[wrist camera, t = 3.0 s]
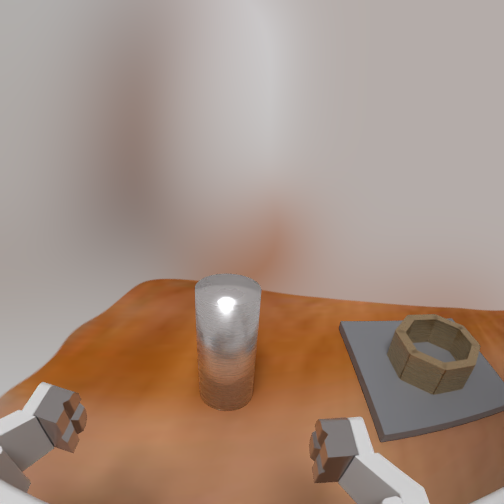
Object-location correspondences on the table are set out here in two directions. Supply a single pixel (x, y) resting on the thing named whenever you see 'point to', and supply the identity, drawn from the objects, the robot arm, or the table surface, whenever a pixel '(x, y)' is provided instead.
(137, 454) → the table surface
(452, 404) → the base plate
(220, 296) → the piston
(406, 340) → the bronze ring
